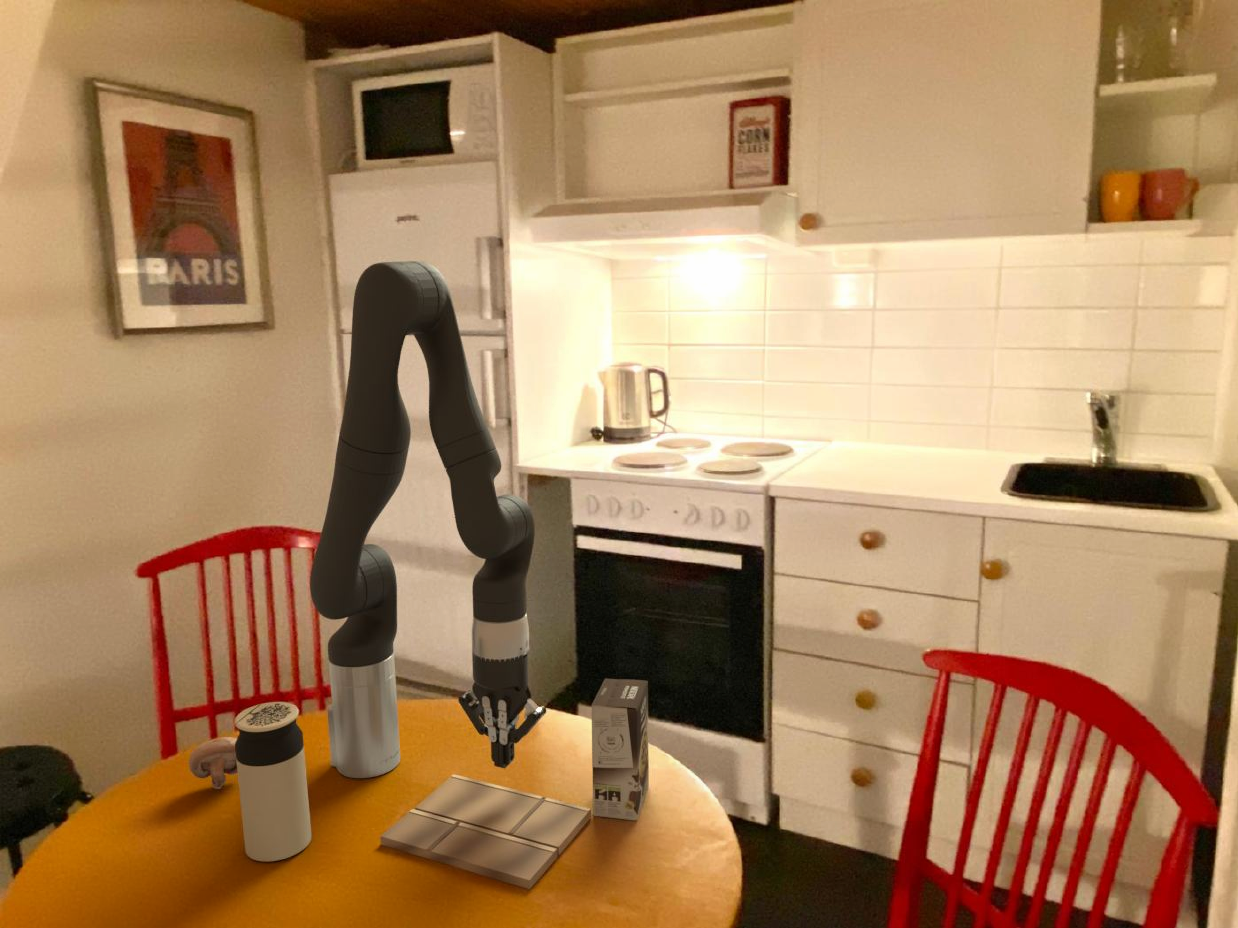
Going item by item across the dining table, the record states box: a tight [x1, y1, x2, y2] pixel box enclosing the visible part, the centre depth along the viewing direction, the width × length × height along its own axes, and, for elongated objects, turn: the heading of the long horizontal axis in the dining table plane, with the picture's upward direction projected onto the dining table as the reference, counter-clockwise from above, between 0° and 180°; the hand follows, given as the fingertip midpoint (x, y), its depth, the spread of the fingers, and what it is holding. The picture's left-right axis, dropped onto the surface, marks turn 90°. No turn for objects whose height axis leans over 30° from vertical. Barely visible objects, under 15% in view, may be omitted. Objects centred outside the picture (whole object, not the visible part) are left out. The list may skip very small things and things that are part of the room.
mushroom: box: [188, 736, 238, 790], centre depth 131 cm, size 8×6×8 cm
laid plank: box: [380, 808, 558, 890], centre depth 116 cm, size 22×7×1 cm, turn 65°
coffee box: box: [591, 678, 650, 821], centre depth 125 cm, size 9×6×16 cm
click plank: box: [414, 774, 592, 856], centre depth 123 cm, size 22×9×1 cm, turn 65°
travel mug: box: [234, 701, 312, 862], centre depth 116 cm, size 8×8×18 cm
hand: (503, 764), depth 125 cm, fingers closed
